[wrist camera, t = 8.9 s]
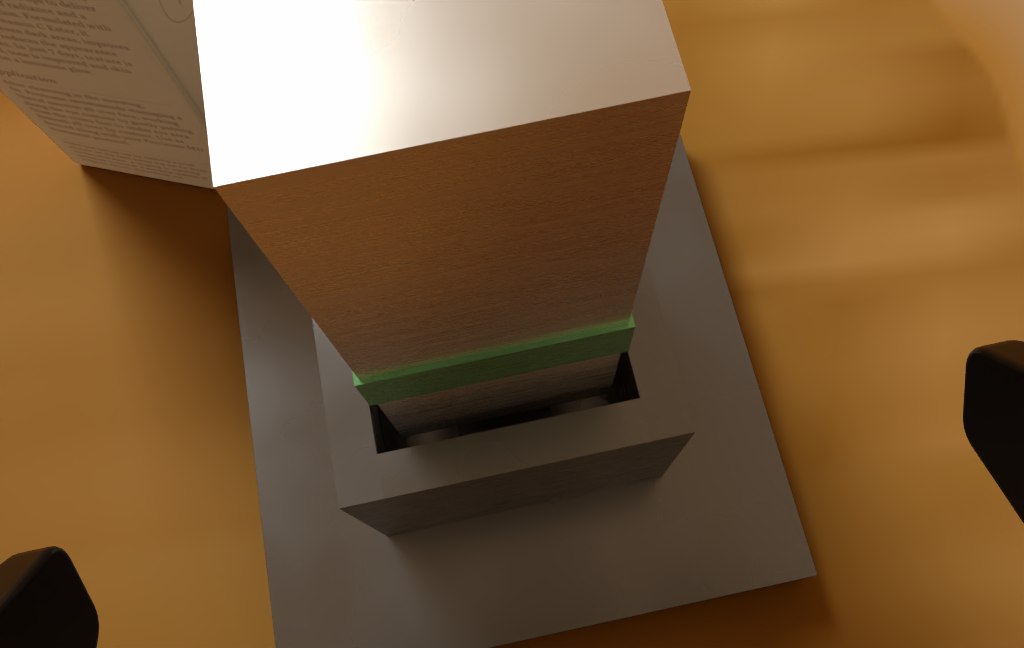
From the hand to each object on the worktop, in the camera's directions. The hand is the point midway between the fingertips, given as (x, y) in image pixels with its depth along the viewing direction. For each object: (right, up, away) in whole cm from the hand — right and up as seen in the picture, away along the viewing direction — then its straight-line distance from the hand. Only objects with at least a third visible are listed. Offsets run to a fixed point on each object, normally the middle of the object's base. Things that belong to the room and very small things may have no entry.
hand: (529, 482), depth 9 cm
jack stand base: (0, 0, +14) cm, 14 cm away
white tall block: (-1, +2, +9) cm, 9 cm away
